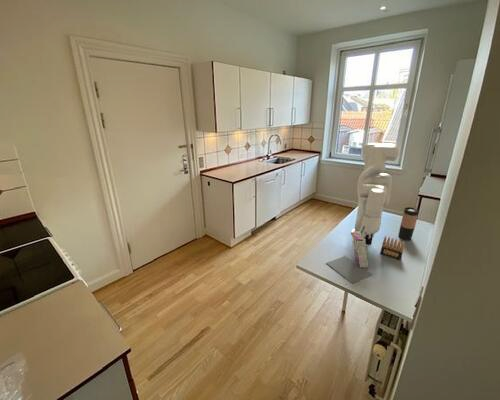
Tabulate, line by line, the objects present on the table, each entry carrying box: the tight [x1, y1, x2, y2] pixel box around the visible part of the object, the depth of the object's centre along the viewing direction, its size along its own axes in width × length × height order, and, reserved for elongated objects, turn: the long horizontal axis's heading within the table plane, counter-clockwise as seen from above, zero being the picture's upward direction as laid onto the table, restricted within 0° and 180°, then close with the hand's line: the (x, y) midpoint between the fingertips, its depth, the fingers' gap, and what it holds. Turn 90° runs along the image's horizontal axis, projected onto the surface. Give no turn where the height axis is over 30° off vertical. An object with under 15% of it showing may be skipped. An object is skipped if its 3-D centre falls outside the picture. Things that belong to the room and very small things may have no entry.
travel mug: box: [398, 207, 420, 241], centre depth 153 cm, size 8×8×20 cm
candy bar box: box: [351, 231, 370, 269], centre depth 130 cm, size 11×5×16 cm, turn 169°
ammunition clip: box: [379, 235, 405, 261], centre depth 136 cm, size 11×2×12 cm, turn 51°
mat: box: [326, 255, 373, 285], centre depth 128 cm, size 14×18×1 cm
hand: (367, 243), depth 129 cm, fingers closed
